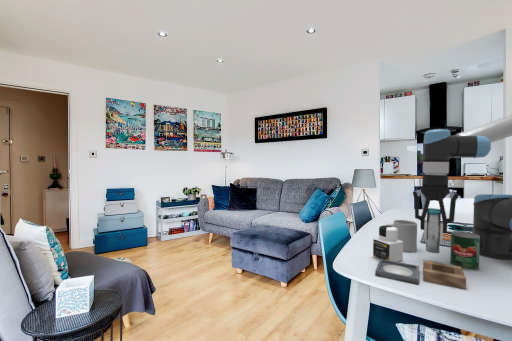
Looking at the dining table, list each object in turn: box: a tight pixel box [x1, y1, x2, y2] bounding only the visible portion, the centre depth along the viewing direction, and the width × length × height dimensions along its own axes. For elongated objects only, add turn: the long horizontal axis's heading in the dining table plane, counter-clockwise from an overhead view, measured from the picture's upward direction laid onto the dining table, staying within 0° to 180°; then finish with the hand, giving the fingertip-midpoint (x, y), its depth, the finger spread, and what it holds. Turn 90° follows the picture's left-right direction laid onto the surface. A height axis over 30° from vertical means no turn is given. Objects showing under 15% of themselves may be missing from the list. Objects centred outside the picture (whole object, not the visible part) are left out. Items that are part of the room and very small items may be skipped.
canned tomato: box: [449, 230, 480, 271], centre depth 90 cm, size 8×8×11 cm
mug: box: [386, 219, 418, 253], centre depth 109 cm, size 12×8×11 cm
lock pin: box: [425, 207, 442, 254], centre depth 93 cm, size 5×5×15 cm
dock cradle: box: [374, 259, 420, 286], centre depth 84 cm, size 12×12×2 cm
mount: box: [422, 260, 467, 290], centre depth 81 cm, size 10×10×3 cm
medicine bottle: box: [372, 224, 404, 262], centre depth 97 cm, size 7×7×12 cm
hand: (432, 239), depth 93 cm, fingers closed on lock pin, 4 cm apart
